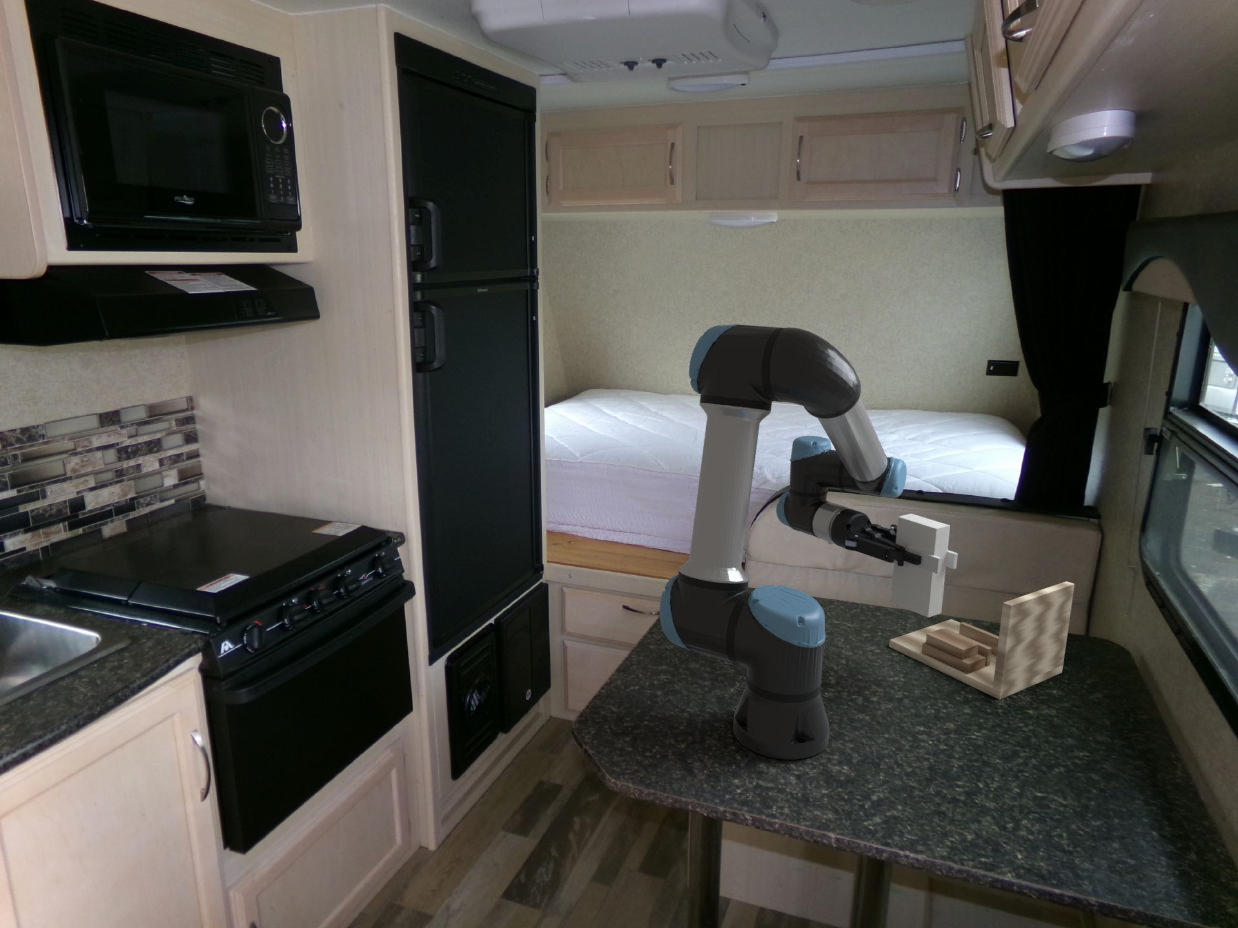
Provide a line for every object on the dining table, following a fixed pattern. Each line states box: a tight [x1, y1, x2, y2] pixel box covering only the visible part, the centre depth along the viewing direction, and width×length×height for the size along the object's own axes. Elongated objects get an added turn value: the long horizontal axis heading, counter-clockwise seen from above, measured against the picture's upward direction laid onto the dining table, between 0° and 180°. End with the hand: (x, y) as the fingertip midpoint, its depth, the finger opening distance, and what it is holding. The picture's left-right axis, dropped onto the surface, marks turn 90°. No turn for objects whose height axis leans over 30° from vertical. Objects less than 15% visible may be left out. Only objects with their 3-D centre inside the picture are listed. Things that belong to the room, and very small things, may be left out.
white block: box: [890, 513, 951, 618], centre depth 144 cm, size 4×8×16 cm, turn 32°
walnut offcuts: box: [922, 629, 986, 674], centre depth 154 cm, size 5×10×4 cm, turn 32°
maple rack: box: [888, 581, 1076, 700], centre depth 156 cm, size 19×24×18 cm
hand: (947, 563), depth 139 cm, fingers closed on white block, 3 cm apart
